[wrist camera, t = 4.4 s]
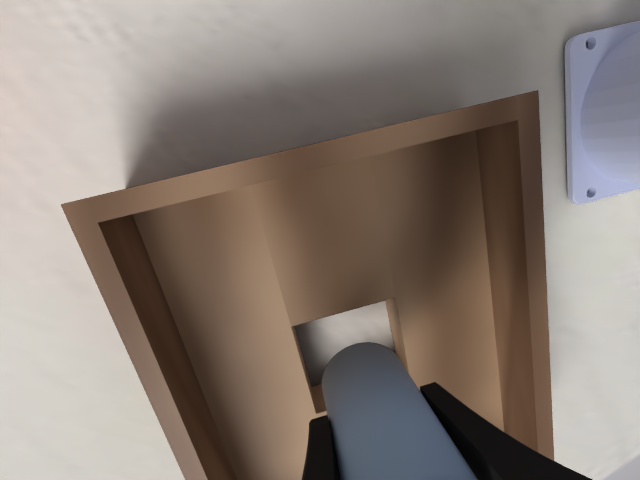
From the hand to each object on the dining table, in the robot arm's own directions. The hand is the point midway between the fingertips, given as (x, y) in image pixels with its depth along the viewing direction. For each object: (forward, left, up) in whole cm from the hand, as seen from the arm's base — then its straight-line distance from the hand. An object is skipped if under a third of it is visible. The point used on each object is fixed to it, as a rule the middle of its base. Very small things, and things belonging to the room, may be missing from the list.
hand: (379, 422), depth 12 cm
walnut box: (0, 0, -6) cm, 6 cm away
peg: (0, 0, -2) cm, 2 cm away
